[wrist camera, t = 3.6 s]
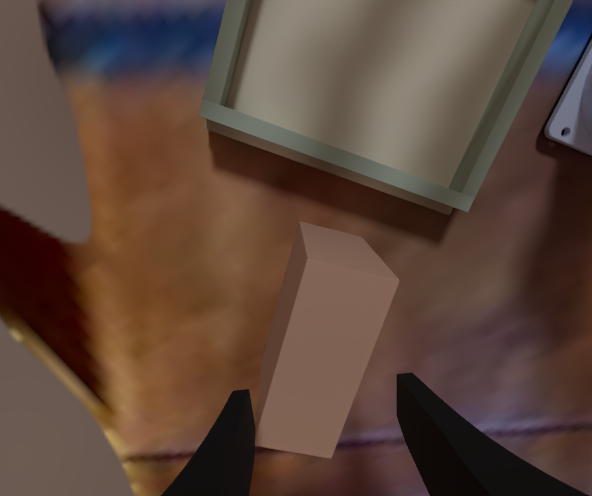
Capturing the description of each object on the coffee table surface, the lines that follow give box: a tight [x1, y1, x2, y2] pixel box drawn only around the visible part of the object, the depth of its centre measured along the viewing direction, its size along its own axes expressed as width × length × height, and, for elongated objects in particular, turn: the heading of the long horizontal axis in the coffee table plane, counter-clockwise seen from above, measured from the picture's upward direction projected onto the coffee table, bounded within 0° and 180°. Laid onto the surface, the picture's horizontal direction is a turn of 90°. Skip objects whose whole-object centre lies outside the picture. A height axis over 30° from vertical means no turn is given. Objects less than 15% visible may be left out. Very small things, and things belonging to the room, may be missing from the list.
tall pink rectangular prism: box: [255, 221, 400, 459], centre depth 18 cm, size 4×10×7 cm, turn 165°
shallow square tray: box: [199, 0, 573, 215], centre depth 16 cm, size 15×14×2 cm
